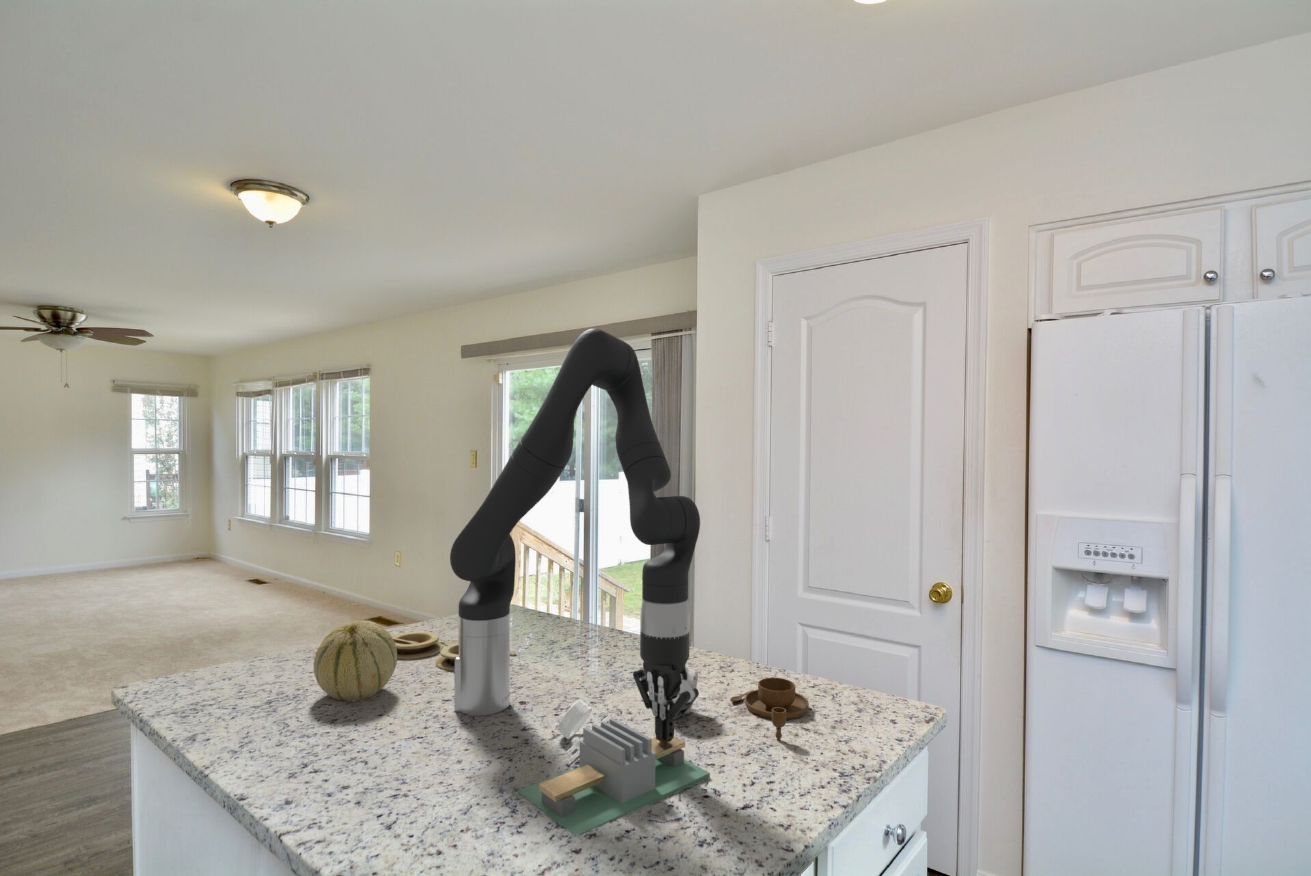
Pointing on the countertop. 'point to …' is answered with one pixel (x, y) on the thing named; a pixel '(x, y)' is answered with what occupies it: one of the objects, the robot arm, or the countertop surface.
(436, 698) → the countertop surface
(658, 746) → the wooden block
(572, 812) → the board
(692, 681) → the mechanical component
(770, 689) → the place setting
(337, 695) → the cantaloupe
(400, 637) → the tableware set
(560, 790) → the left strap
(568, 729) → the wide band ring
